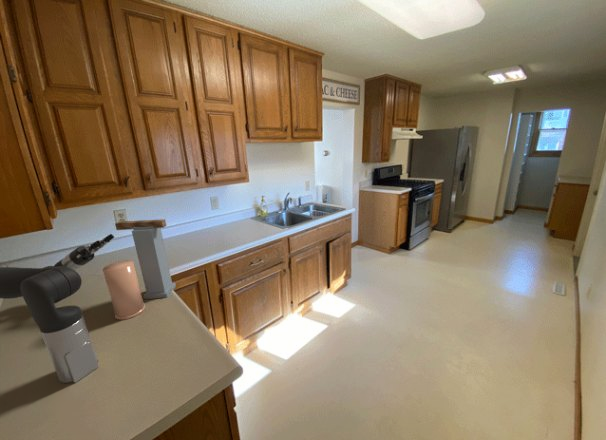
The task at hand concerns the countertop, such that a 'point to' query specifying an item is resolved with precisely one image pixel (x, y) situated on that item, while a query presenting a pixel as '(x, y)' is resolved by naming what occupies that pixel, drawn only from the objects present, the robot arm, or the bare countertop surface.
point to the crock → (124, 289)
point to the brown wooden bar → (140, 224)
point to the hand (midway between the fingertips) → (106, 238)
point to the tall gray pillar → (153, 262)
